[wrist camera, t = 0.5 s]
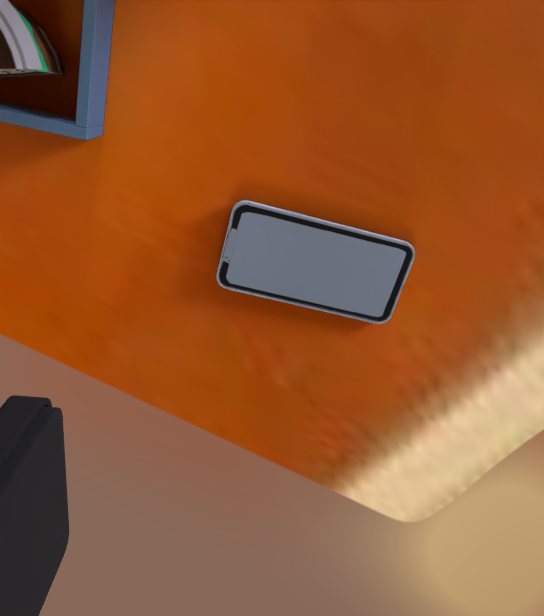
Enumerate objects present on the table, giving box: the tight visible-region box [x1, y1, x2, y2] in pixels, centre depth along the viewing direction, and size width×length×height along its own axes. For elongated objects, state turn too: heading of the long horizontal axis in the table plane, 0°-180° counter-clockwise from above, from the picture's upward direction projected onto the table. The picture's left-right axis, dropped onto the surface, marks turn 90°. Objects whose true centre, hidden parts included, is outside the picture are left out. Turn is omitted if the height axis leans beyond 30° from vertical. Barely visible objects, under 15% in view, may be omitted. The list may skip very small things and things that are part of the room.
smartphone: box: [217, 200, 415, 324], centre depth 42 cm, size 7×1×15 cm
